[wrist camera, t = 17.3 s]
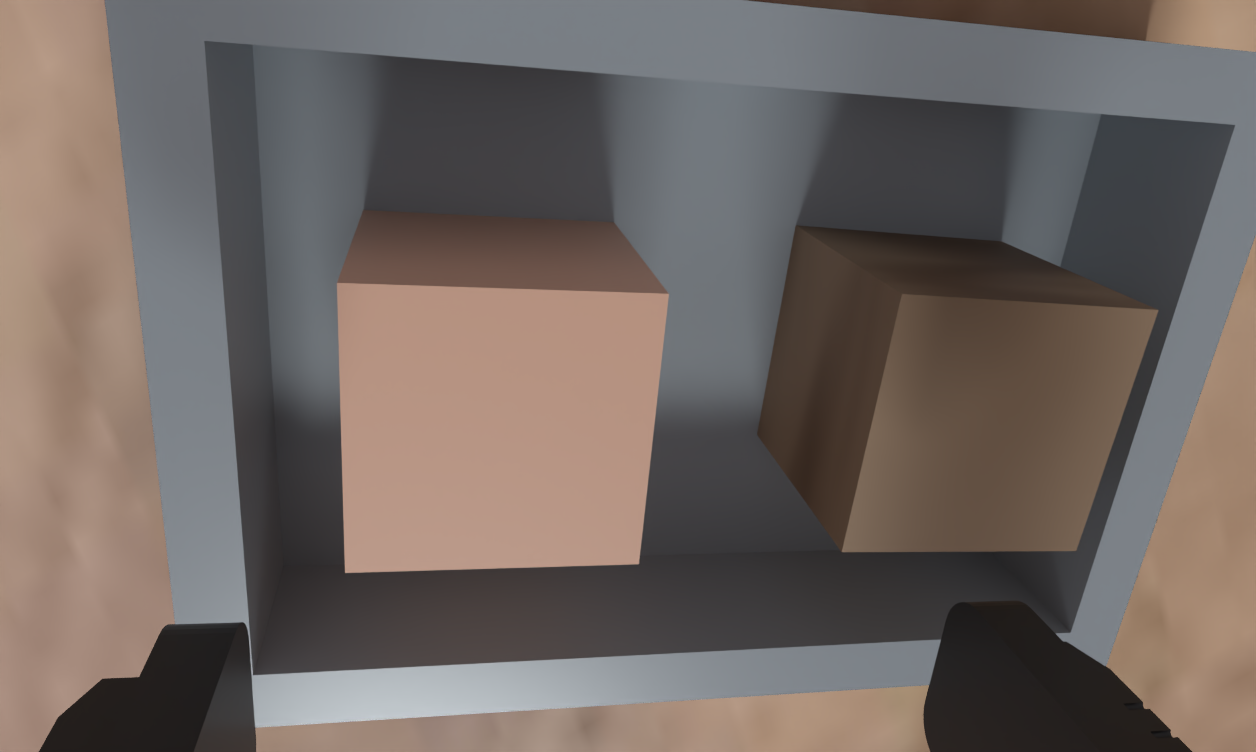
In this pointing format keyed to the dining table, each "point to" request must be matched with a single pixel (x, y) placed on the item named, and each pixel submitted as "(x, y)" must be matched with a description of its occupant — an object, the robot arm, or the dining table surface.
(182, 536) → the tray
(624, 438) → the terracotta block
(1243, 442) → the dining table surface
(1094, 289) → the walnut block
